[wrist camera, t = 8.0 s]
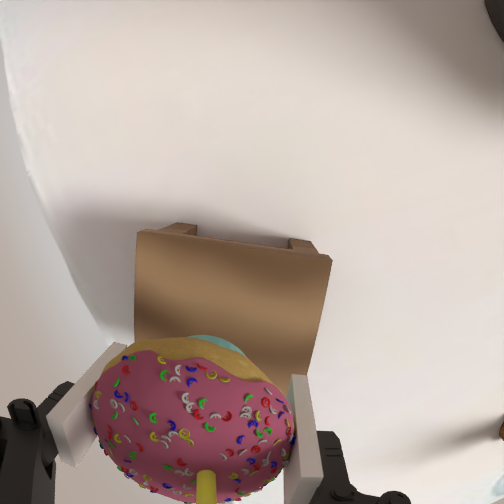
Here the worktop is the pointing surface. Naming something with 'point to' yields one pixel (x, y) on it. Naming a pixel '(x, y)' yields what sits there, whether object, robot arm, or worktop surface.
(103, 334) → the worktop surface
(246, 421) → the cupcake
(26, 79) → the worktop surface
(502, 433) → the brown chess pawn
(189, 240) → the walnut stool
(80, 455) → the robot arm
